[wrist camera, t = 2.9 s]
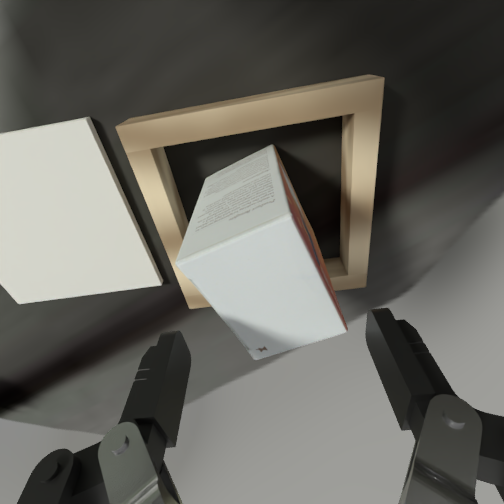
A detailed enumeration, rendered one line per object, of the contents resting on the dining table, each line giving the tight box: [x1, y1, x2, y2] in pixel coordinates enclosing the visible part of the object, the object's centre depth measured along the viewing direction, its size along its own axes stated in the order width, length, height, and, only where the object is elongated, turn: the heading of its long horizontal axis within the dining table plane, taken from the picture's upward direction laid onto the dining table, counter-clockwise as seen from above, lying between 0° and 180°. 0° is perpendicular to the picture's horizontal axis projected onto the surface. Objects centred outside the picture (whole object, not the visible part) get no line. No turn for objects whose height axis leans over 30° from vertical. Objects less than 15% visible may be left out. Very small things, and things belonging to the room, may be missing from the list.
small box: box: [175, 144, 348, 360], centre depth 18 cm, size 8×6×10 cm
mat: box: [0, 117, 163, 304], centre depth 23 cm, size 14×14×1 cm
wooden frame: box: [116, 74, 385, 309], centre depth 21 cm, size 15×15×2 cm
